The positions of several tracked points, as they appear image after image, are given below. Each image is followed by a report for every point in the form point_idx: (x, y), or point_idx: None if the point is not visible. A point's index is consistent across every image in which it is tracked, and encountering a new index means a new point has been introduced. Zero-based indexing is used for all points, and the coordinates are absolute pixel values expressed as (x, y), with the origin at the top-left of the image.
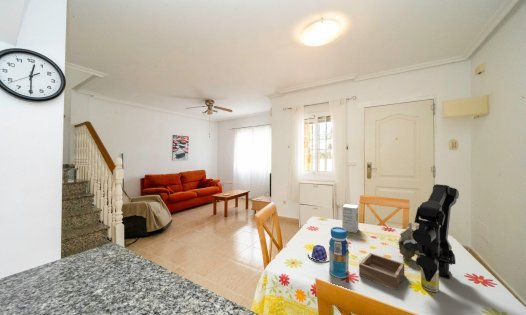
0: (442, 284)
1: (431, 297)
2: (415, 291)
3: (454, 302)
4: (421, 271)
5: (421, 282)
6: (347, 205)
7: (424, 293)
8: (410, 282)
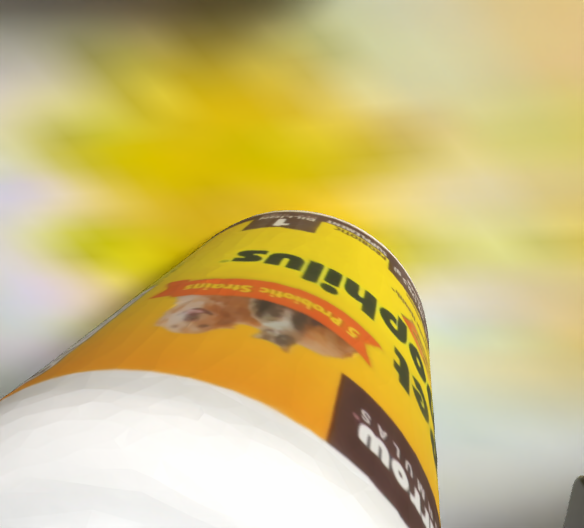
0: (571, 487)
1: (61, 337)
2: (32, 146)
3: None
4: (86, 337)
5: (223, 234)
6: None
7: (84, 260)
8: (254, 34)
